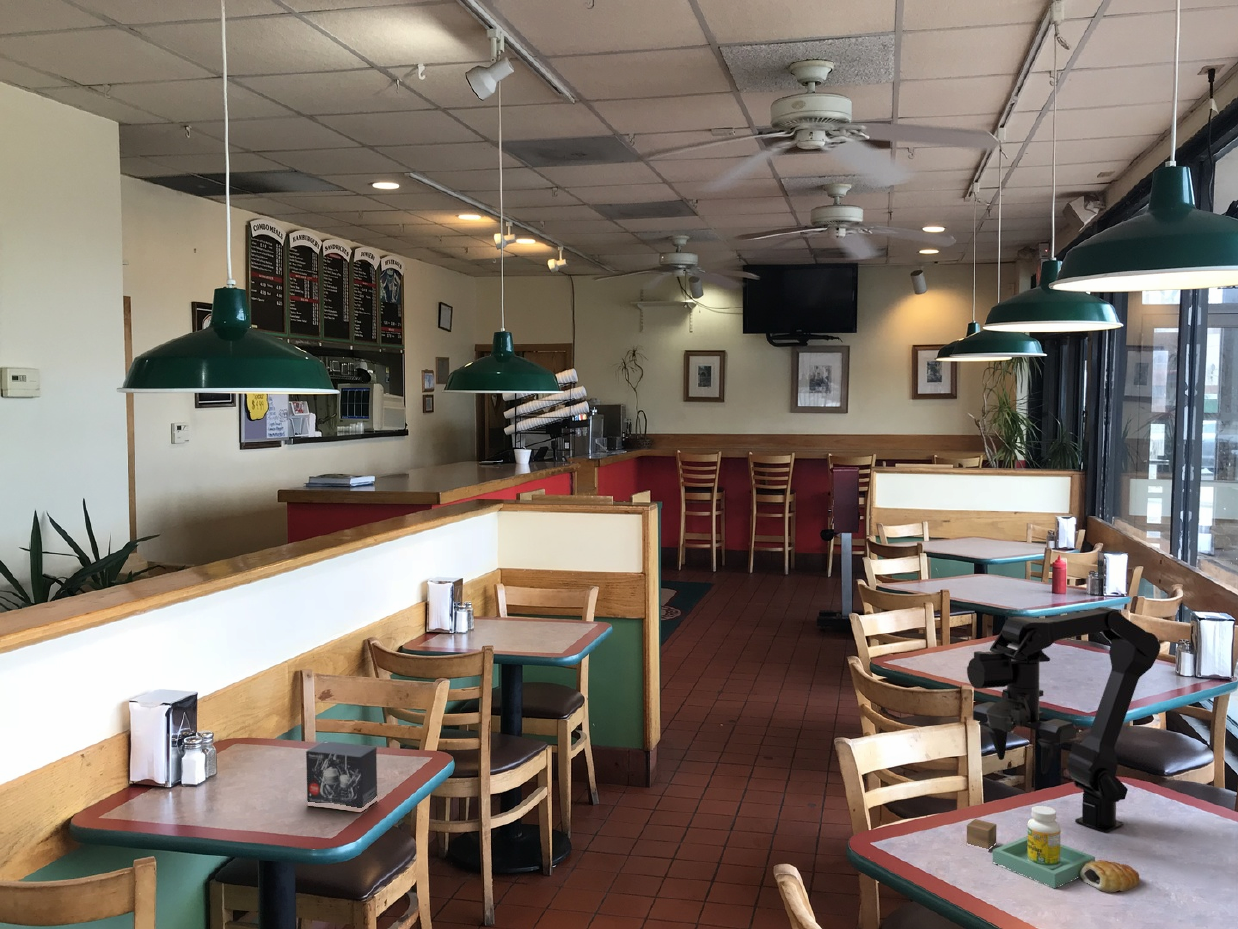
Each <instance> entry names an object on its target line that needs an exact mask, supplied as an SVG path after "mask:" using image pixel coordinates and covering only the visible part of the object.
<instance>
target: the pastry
mask: <svg viewBox="0 0 1238 929" xmlns="http://www.w3.org/2000/svg"><path fill="white" fill-rule="evenodd" d="M1080 878H1081V879H1083V880H1084V881H1083V880H1082V881H1083V882H1084V883H1085V884H1087V883H1088V884H1087V885H1089V884H1090V885H1089V886H1091V887H1093V886H1094V887H1093V888H1095V889H1097V890H1098V891H1101V890H1102V892H1105V891H1107V892H1106V893H1116V892H1117V891H1118V892H1119V891H1120V892H1124V891H1125V890H1126V891H1127V890H1131V889H1133V888H1135V887H1137V886H1138V885H1139V883H1140V873H1139V872H1138V871H1136V869H1134V868H1133V867H1132V866H1130V865H1128V864H1126V863H1125V864H1124V863H1123V864H1122V863H1119V862H1115V861H1108V860H1104V859H1103V860H1102V859H1099V860H1097V861H1096V860H1095V861H1090V862H1089V863H1088V864H1085V866H1084V867H1083V868H1082V870H1081V871H1080ZM1126 891H1125V892H1126Z"/></svg>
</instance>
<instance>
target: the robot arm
mask: <svg viewBox="0 0 1238 929" xmlns="http://www.w3.org/2000/svg"><path fill="white" fill-rule="evenodd" d="M1097 633H1101V635H1102V637H1104V638H1105V639H1106V640H1107V641H1109V642H1110V645H1109V651H1108V653H1109V659H1110V665H1111V670H1110V672H1109V676H1108V678H1107V681H1106V684H1105V687H1104V690H1103V693H1102V696H1101V700H1100V701H1099V705H1098V708H1097V710H1096V712H1095V716H1094V717H1093V718H1094V719H1093V722H1092V724H1091V727H1090V730H1089V733H1088V736H1087V737H1086V738H1085V739H1083V740H1082V741H1081V742H1078V741H1073V742H1072V743H1071V748H1070V751H1069V752H1070V753H1069V754H1068V756H1067V757H1066V759H1065V760H1066V761H1067V765H1066V770H1067V771H1068V772H1067V773H1068V774H1069V776H1070V777H1071V778H1072V781H1073V784H1074V786H1075V787H1076V788H1078V789H1081V790H1082V791H1083V792H1082V805H1081V806H1082V807H1081V808H1082V811H1081V813H1082V814H1081V816H1080V817H1078V818H1075V819H1074V821H1075V823H1077V824H1080V825H1082V826H1085V827H1087V828H1091V829H1095V831H1100V832H1103V833H1109V832H1111V831H1113V830H1114V831H1115V830H1116V829H1119V828H1121V827H1123V826H1124V825H1125V824H1124V822H1123V821H1120V820H1117V803H1119V801H1121V800H1125V799H1126V797H1127V793H1128V790H1129V789H1128V788H1127V786H1125V785H1124V783H1123V782H1122V781H1121V780H1120V779H1119V778H1118V777H1117V776H1116V775H1117V771H1118V765H1119V764H1118V759H1117V753H1116V745H1117V743H1118V739H1119V736H1120V733H1121V730H1122V729H1123V725H1124V722H1125V719H1126V716H1127V714H1128V711H1129V709H1130V705H1131V702H1132V699H1133V696H1134V694H1135V690H1136V688H1137V685H1138V683H1139V680H1140V679H1141V677H1142V676H1143V675H1145V674H1146V673H1147V672H1148V671H1150V669H1152V667H1153V666H1154V664H1155V662H1156V660H1157V658H1158V656H1159V654H1160V653H1161V652H1160V651H1161V643H1160V642H1159V641H1160V640H1159V639H1158V637H1157V636H1156V634H1154V633H1152V632H1149V631H1146V630H1145V629H1143V628H1142V627H1140V626H1138V625H1137V624H1136V623H1134V622H1133V621H1131V620H1130V619H1128V618H1126V617H1125V615H1123V614H1122V613H1121V612H1119V611H1118V610H1116V609H1112V608H1108V607H1104V606H1099V607H1095V608H1094V609H1088V610H1084V611H1078V612H1073V613H1067V614H1062V615H1061V614H1060V615H1056V616H1051V617H1047V618H1046V617H1031V616H1011V617H1010V618H1007V619H1006V620H1005V623H1004V624H1003V626H1002V629H1001V631H1000V633H999V634H998V636H997V637H996V639H995V640H994V642H993V643H992V644H991V646H990V648H989V651H979V650H978V651H974V652H973V657H972V658H970V660H969V662H968V665H967V666H966V674H967V679H968V681H969V684H970V685H971V686H972V687H973V688H974V689H977V690H979V689H980V690H981V689H993V688H1004V687H1006V688H1004V689H1002V692H1001V698H1000V700H999V701H996V702H992V701H987V702H984V703H979V704H976V705H975V706H974V707H973V708H972V720H974V721H977V723H978V725H979V726H981V727H982V728H984V729H985V730H986V732H988V734H989V736H990V739H991V741H992V743H993V744H992V745H993V746H994V749H995V752H996V755H997V757H998V760H1000V761H1002V760H1005V755H1006V750H1007V739H1008V733H1009V732H1012V731H1014V730H1015V729H1016V727H1018V728H1022V727H1024V728H1027V729H1031V730H1035V731H1038V735H1039V736H1040V737H1041V738H1039V739H1037V741H1038V744H1039V745H1040V747H1041V751H1040V752H1041V754H1040V755H1041V756H1040V757H1041V760H1040V767H1041V768H1040V769H1041V773H1042V774H1047V773H1048V771H1049V769H1050V767H1051V765H1052V763H1053V761H1054V759H1055V757H1056V755H1057V753H1058V751H1059V750H1060V749H1061V748H1062V745H1063V744H1064V743H1067V742H1069V741H1071V740H1074V739H1076V738H1077V728H1076V725H1075V724H1074V723H1073V722H1071V721H1067V720H1062V719H1059V718H1053V719H1050V720H1047V721H1044V720H1040V719H1042V718H1044V711H1041V710H1040V698H1041V697H1044V690H1043V689H1040V663H1045V662H1050V661H1051V657H1049V656H1048V655H1047V654H1046V653H1045V652H1044V651H1043V650H1044V649H1047V648H1050V647H1051V646H1052V645H1053V644H1054V643H1056V642H1058V641H1060V640H1064V639H1065V640H1066V639H1071V638H1076V637H1082V636H1086V635H1091V634H1097ZM1009 646H1010V647H1009Z"/></svg>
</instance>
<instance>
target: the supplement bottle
mask: <svg viewBox="0 0 1238 929" xmlns="http://www.w3.org/2000/svg"><path fill="white" fill-rule="evenodd" d="M1030 815H1031V817H1032V818H1030V819H1029V820H1028V822H1027V825H1026V826H1027V836H1028V840H1027V841H1028V861H1030V862H1032V863H1035V864H1038V865H1040V866H1043V867H1045V868H1048V869H1056V868H1058V867H1059V866H1060V855H1061V852H1060V847H1061V846H1060V844H1061V826H1060V824H1059V822H1058V821H1056V820H1057V811H1056V810H1055V809H1054V808H1052V807H1049V806H1046V805H1036V806H1032V807H1031V814H1030Z"/></svg>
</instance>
